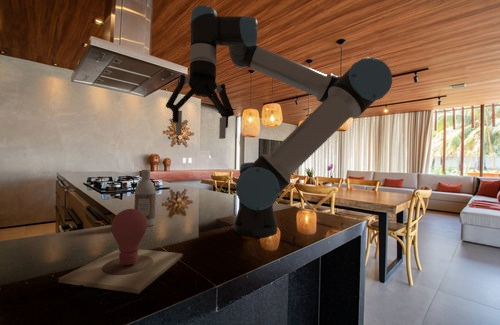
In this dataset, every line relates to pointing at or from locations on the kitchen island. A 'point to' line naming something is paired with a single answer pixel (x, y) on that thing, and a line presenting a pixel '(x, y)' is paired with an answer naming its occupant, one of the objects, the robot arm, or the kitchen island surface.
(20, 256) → the kitchen island surface
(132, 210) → the dark red bulb shape
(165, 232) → the kitchen island surface
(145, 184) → the bath foam
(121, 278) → the seat board
